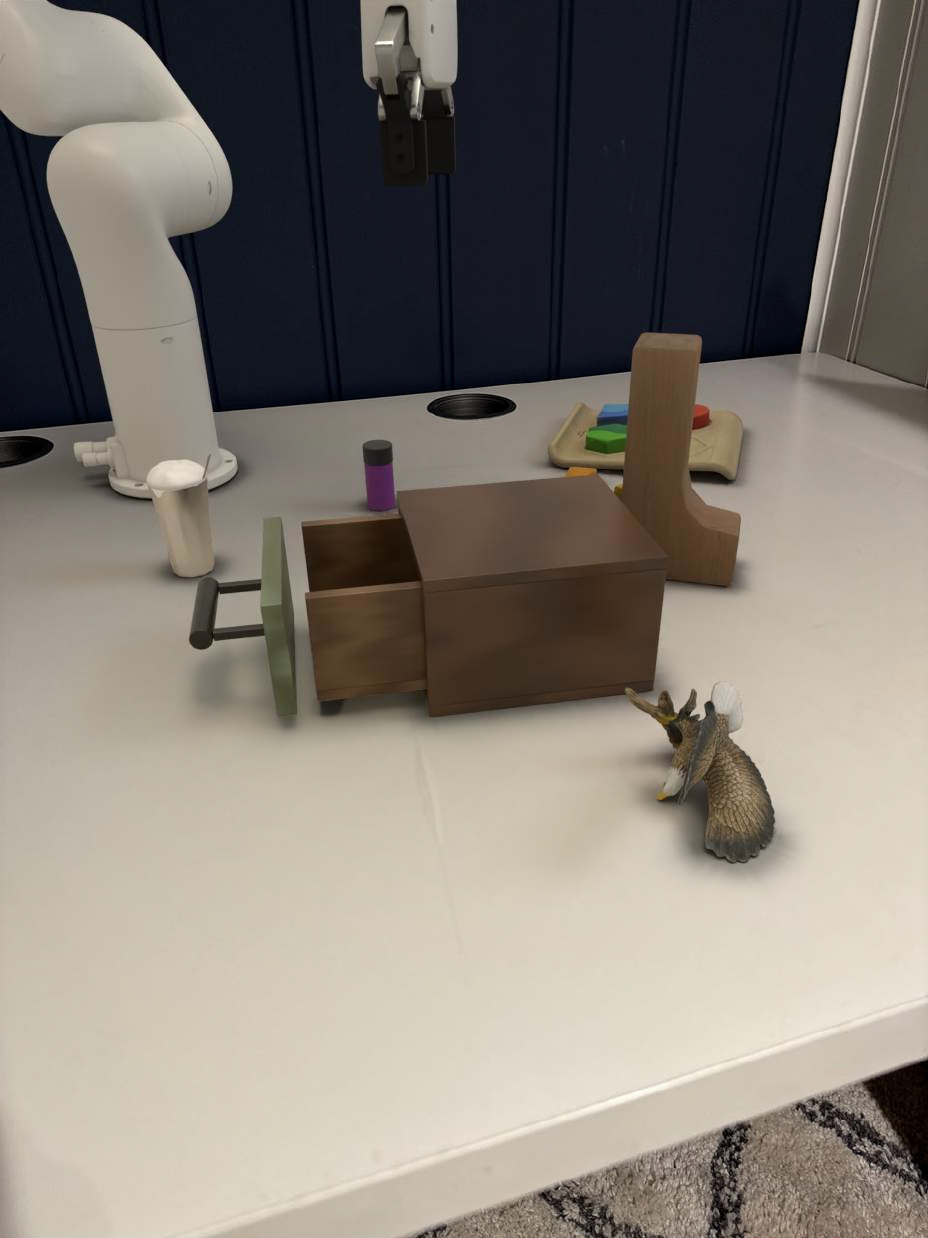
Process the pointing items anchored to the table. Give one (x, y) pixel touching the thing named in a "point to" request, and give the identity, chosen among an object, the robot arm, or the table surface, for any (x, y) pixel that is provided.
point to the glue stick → (379, 474)
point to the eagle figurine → (715, 770)
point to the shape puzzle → (603, 440)
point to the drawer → (333, 610)
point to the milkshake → (183, 514)
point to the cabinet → (533, 592)
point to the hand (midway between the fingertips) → (421, 179)
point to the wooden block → (673, 463)
